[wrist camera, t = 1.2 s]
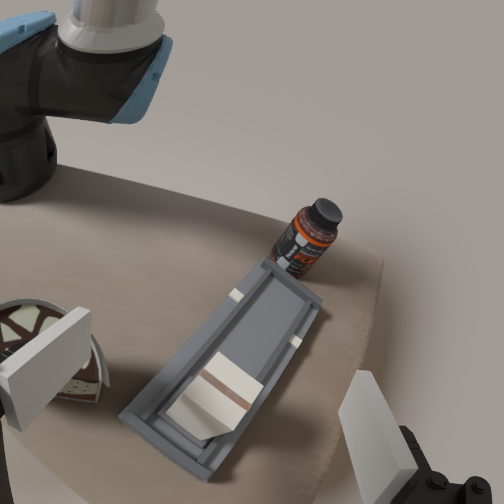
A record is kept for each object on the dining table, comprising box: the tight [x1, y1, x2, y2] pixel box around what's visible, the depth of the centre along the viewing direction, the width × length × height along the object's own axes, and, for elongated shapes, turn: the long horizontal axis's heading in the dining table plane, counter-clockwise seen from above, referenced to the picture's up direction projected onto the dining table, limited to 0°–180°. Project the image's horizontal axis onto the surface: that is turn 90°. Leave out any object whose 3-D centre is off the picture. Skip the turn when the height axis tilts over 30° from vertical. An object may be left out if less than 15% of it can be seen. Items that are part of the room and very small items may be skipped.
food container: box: [0, 298, 110, 403], centre depth 22 cm, size 12×6×10 cm, turn 97°
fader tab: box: [157, 351, 264, 448], centre depth 23 cm, size 5×5×10 cm
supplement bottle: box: [271, 198, 343, 277], centre depth 43 cm, size 6×6×11 cm
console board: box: [118, 257, 323, 483], centre depth 33 cm, size 10×26×3 cm, turn 147°
